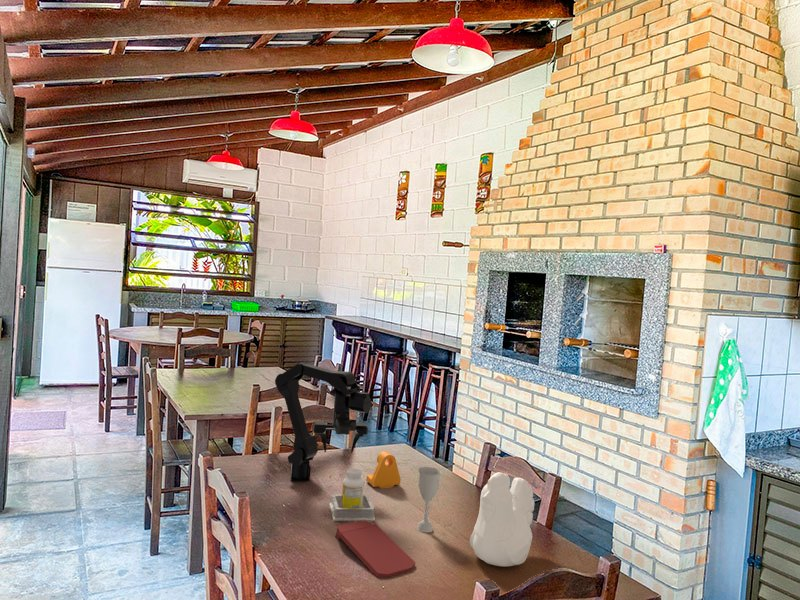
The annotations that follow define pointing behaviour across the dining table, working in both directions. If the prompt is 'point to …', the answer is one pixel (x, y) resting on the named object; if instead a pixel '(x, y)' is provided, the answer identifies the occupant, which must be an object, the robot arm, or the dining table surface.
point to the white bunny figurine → (504, 521)
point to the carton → (375, 548)
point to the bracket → (385, 472)
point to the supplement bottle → (352, 489)
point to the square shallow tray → (351, 510)
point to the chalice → (428, 493)
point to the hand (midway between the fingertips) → (338, 452)
